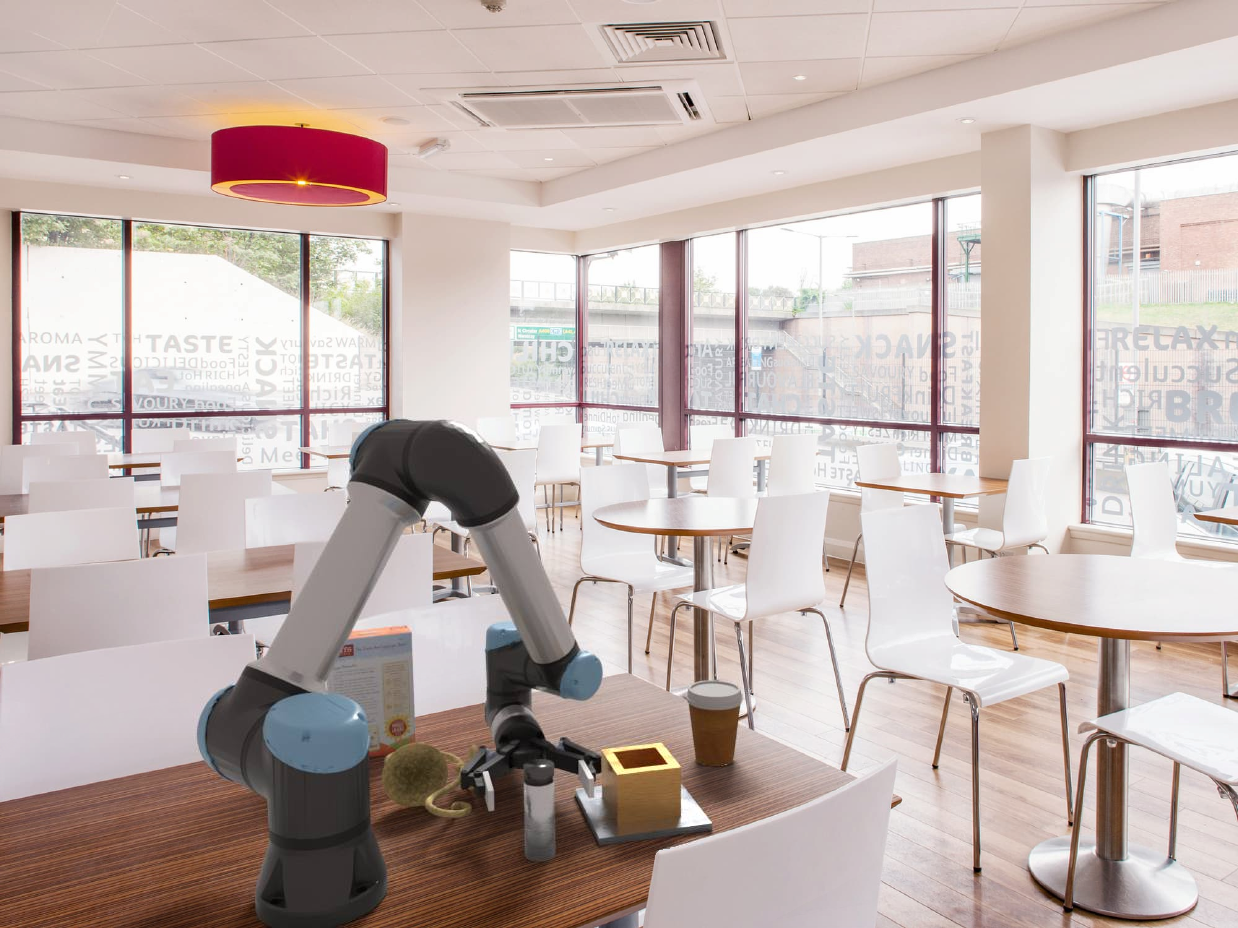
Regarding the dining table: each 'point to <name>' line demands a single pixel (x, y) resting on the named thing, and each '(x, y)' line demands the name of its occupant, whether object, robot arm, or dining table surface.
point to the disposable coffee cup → (714, 720)
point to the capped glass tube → (539, 810)
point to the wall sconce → (423, 778)
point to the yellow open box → (640, 797)
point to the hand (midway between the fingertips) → (542, 794)
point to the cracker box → (379, 684)
